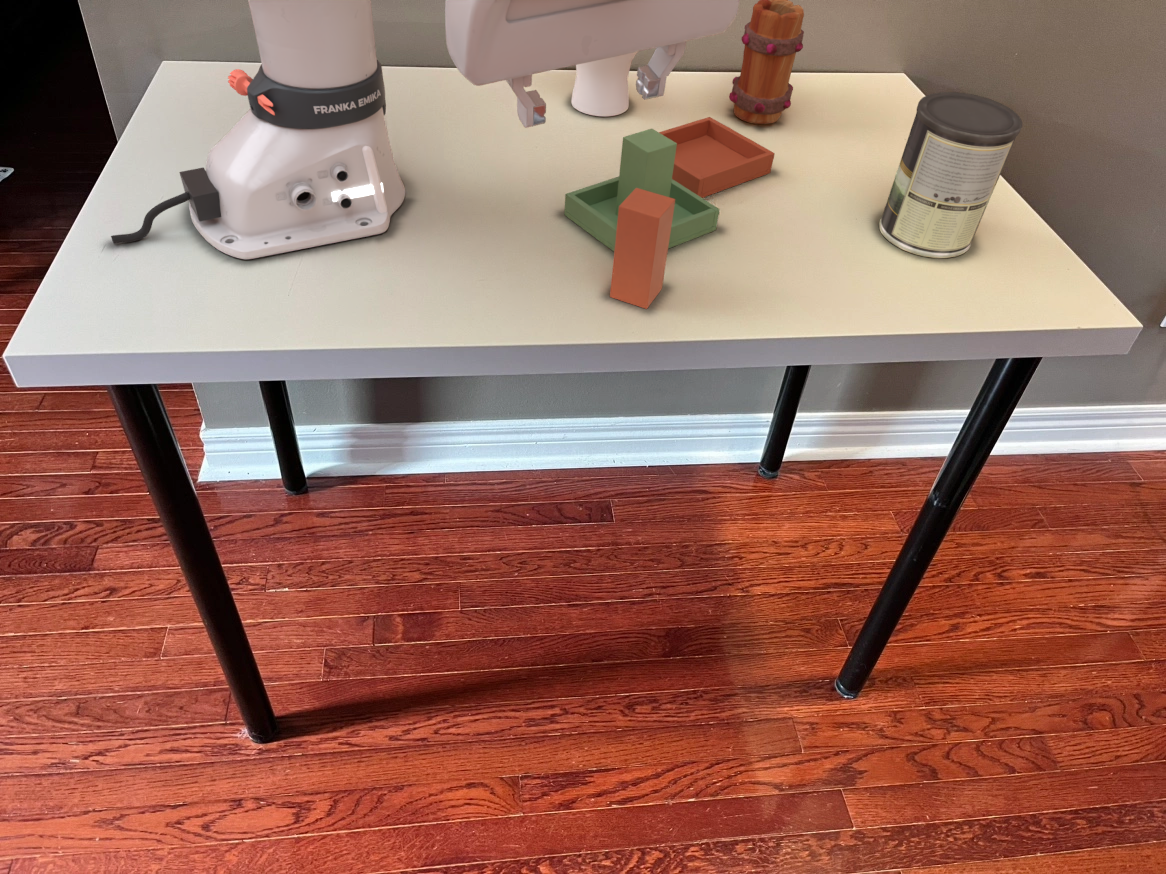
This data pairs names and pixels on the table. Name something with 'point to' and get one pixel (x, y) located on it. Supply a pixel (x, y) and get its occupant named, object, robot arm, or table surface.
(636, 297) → the terracotta block
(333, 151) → the robot arm
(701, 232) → the green tray
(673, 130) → the terracotta tray
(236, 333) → the table surface
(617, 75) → the white vase
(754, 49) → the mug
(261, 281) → the table surface
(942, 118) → the coffee can
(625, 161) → the green block
